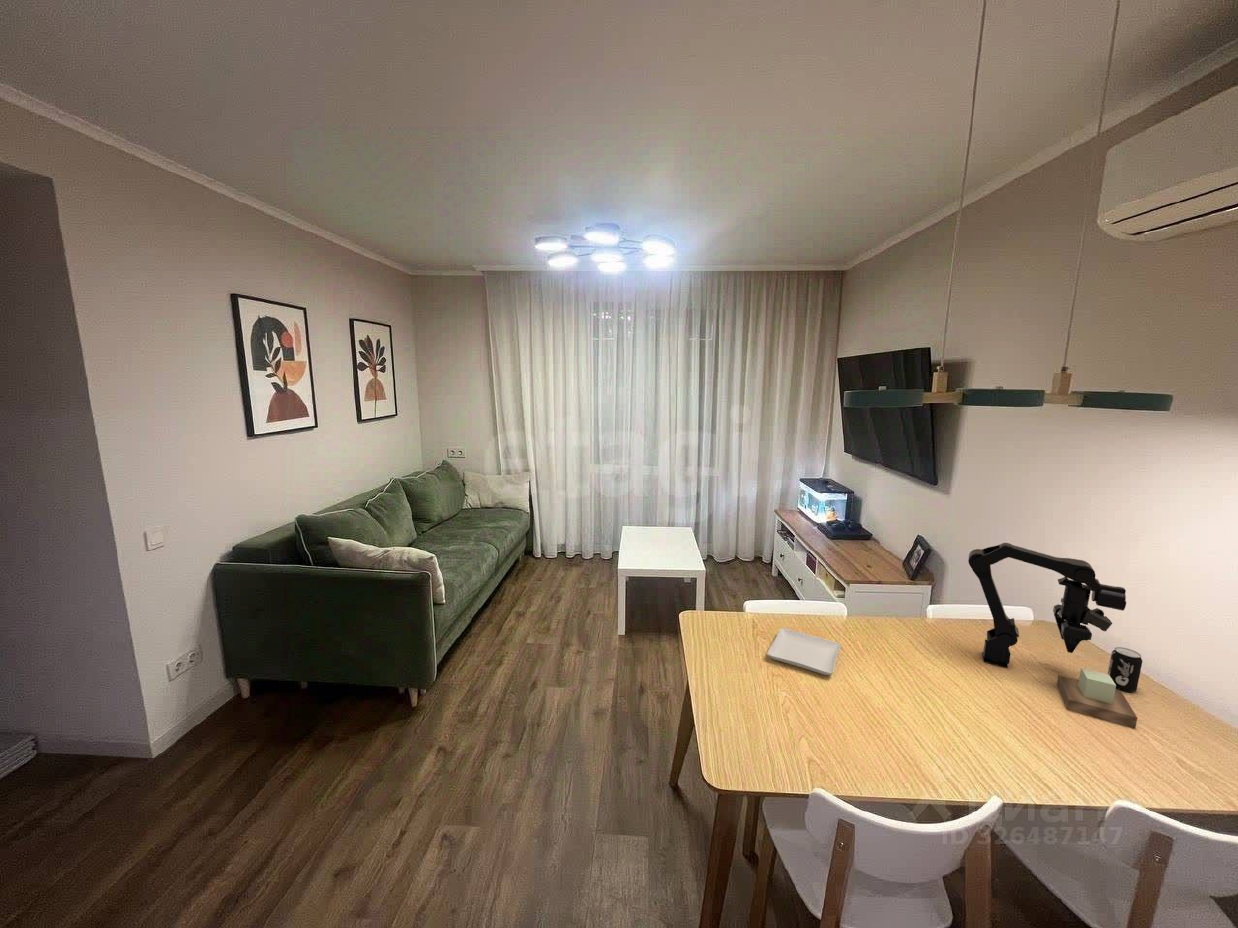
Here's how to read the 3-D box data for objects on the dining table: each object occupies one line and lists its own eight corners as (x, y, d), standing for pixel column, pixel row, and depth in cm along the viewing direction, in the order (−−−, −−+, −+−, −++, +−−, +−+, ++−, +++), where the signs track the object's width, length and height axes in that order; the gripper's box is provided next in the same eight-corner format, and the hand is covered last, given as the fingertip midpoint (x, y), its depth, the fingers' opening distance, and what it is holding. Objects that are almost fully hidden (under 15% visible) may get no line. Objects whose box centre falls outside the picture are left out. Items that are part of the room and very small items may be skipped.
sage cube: (1084, 696, 138) (1087, 678, 137) (1078, 685, 143) (1081, 668, 142) (1112, 704, 135) (1116, 685, 134) (1105, 692, 140) (1108, 674, 139)
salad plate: (832, 682, 150) (833, 672, 150) (765, 662, 161) (766, 653, 161) (840, 651, 168) (841, 642, 168) (780, 634, 179) (780, 626, 179)
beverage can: (1142, 694, 144) (1149, 658, 142) (1117, 691, 145) (1124, 656, 143) (1124, 681, 150) (1131, 647, 148) (1100, 678, 152) (1106, 644, 150)
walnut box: (1066, 711, 137) (1068, 699, 137) (1056, 686, 149) (1058, 674, 148) (1134, 730, 130) (1137, 717, 129) (1118, 702, 141) (1120, 690, 141)
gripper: (1120, 619, 135) (1110, 668, 138) (1103, 596, 150) (1094, 641, 153) (1068, 608, 141) (1059, 656, 144) (1056, 587, 156) (1049, 630, 159)
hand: (1066, 645), depth 150 cm, fingers open, 9 cm apart
